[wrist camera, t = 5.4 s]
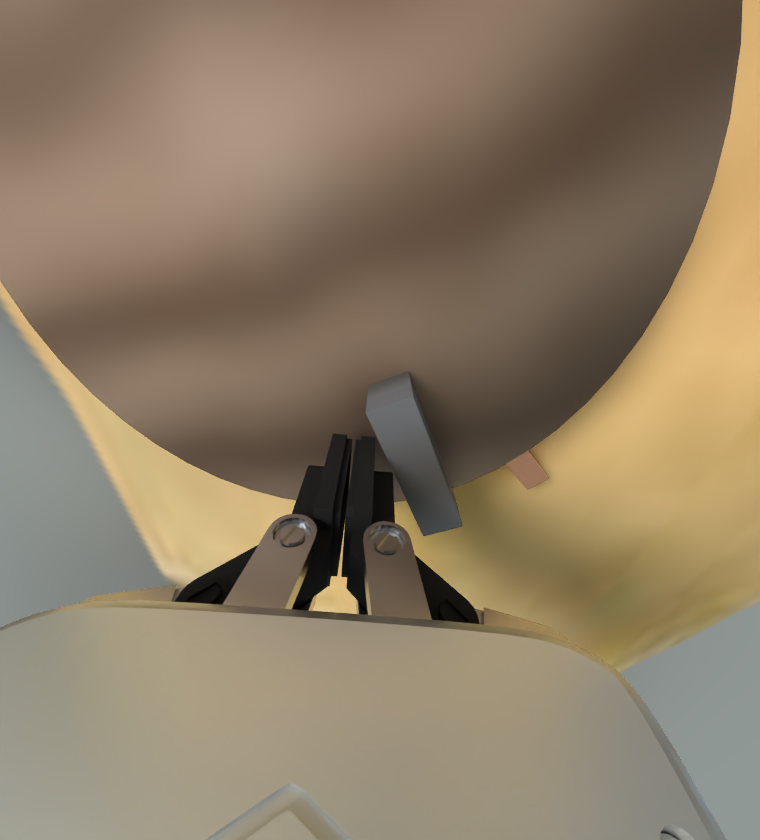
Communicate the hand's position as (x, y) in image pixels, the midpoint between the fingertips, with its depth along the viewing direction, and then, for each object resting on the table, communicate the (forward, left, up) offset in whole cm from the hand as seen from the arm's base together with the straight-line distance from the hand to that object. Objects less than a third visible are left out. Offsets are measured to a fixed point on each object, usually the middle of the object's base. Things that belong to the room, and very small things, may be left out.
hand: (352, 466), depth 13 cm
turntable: (-8, -1, -4) cm, 9 cm away
